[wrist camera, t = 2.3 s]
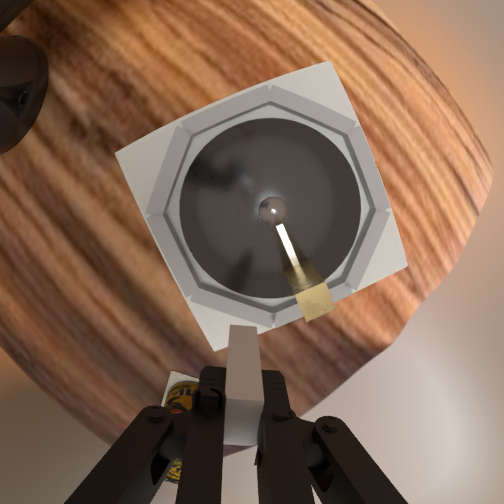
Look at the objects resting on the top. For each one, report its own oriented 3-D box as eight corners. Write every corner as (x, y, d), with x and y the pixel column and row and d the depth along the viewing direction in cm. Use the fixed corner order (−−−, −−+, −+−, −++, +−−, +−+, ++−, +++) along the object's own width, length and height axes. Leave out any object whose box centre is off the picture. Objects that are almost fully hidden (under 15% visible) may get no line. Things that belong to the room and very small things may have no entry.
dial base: (121, 154, 29) (108, 152, 25) (324, 66, 27) (334, 55, 24) (215, 342, 34) (213, 359, 30) (399, 260, 32) (414, 270, 29)
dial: (153, 166, 27) (126, 164, 20) (316, 95, 26) (339, 73, 19) (227, 318, 31) (224, 358, 24) (377, 252, 30) (412, 274, 23)
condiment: (171, 369, 35) (149, 442, 23) (240, 390, 36) (241, 466, 24) (159, 410, 36) (139, 480, 24) (222, 428, 37) (219, 500, 25)
